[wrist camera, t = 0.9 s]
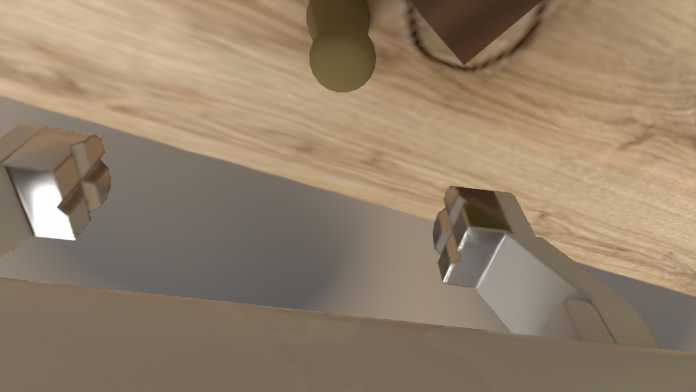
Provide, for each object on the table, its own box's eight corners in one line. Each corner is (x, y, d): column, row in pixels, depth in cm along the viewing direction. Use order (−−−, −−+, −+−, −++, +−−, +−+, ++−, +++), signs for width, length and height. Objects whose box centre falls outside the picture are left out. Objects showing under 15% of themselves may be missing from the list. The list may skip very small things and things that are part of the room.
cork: (382, 20, 40) (399, 70, 31) (336, 61, 42) (340, 118, 34) (340, -32, 36) (347, 8, 28) (292, 16, 39) (286, 66, 31)
